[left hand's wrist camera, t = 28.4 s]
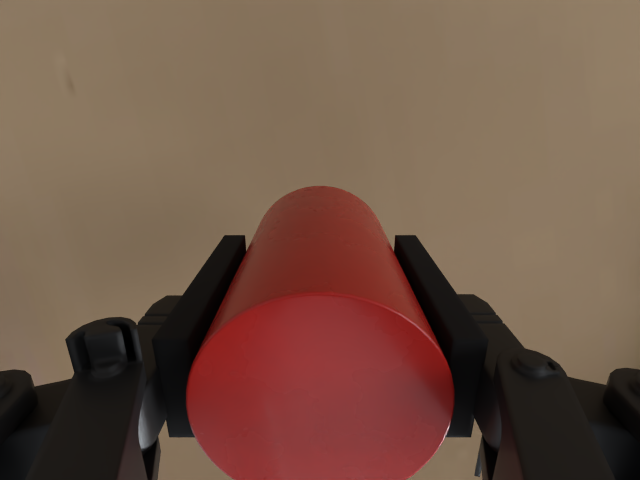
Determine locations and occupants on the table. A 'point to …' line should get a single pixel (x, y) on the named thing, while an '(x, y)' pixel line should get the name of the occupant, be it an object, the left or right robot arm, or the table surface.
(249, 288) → the canister
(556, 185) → the table surface
